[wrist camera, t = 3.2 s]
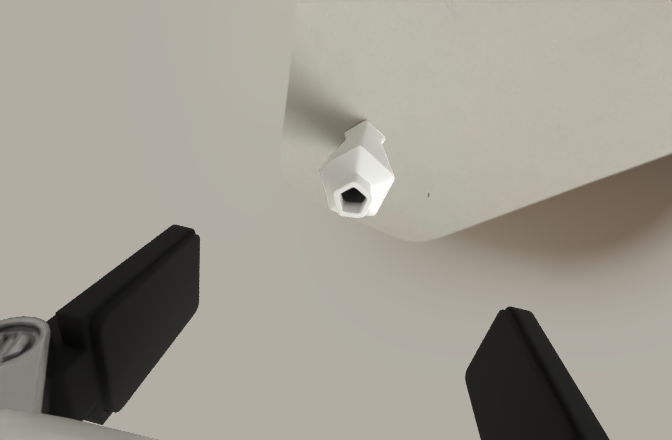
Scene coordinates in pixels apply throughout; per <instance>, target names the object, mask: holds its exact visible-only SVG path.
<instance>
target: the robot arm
mask: <svg viewBox="0 0 672 440" xmlns="http://www.w3.org/2000/svg"><path fill="white" fill-rule="evenodd" d="M199 260H200V237H199V235H196V234H195V231H194V229H191V228H187V227H183V226H179V225H172V226H171V227H169V228H168V229H167V230H165V231H164V232H163V233H161V234H160V235H159V236H157V237H156V238H155V239H153V240H152V241H151V242H149V243H148V244H147V245H145V246H144V247H143V248H141V249H140V250H139V251H137V252H136V253H135V254H133V255H132V256H131V257H129V258H128V259H127V260H125V261H124V262H123V263H121V264H120V265H119V266H117V267H116V268H115V269H113V270H112V271H111V272H109V273H108V274H107V275H105V276H104V277H103V278H101V279H100V280H99V281H97V282H96V283H95V284H93V285H92V286H91V287H89V288H88V289H87V290H85V291H84V292H83V293H81V294H80V295H79V296H77V297H76V298H75V299H73V300H72V301H71V302H69V303H68V304H67V305H65V306H64V307H63V308H61V309H60V310H58V311H57V312H56V315H55V316H53V317H52V318H51V319H50V320H48V321H47V322H45V321H44V320H42V319H39V318H36V317H25V316H23V317H14V318H8V319H4V320H0V440H156V439H153V438H149V437H145V436H141V435H137V434H133V433H129V432H124V431H120V430H116V429H112V428H108V427H103V426H99V425H95V424H91V423H87V422H82V421H83V420H86V421H90V422H94V423H97V424H101V425H103V424H104V422H105V421H106V420H107V419H108V417H109V416H110V415H111V414H112V412H119V411H120V410H121V409H122V408H123V407H124V405H125V404H126V403H127V402H128V400H129V399H130V398H131V396H132V395H133V394H134V392H135V391H136V390H137V388H138V387H139V386H140V384H141V383H142V382H143V381H144V379H145V378H146V377H147V375H148V374H149V373H150V371H151V370H152V369H153V368H154V366H155V365H156V364H157V362H158V361H159V360H160V358H161V357H162V356H163V354H164V353H165V352H166V351H167V349H168V348H169V347H170V345H171V344H172V343H173V341H174V340H175V339H176V337H177V336H178V334H180V332H181V331H182V330H183V328H184V327H185V325H186V324H187V323H188V322H189V320H190V319H191V318H192V316H193V315H194V314H195V312H196V310H197V308H198V305H199V263H200V261H199ZM465 380H466V385H467V389H468V392H469V396H470V400H471V404H472V408H473V412H474V415H475V419H476V423H477V427H478V431H479V434H480V438H481V440H609V438H608V436H607V435H606V433H605V431H604V430H603V428H602V427H601V425H600V423H599V422H598V420H597V418H596V417H595V415H594V413H593V412H592V410H591V409H590V407H589V405H588V404H587V402H586V400H585V399H584V397H583V395H582V394H581V392H580V390H579V389H578V387H577V386H576V384H575V382H574V381H573V379H572V377H571V376H570V374H569V373H568V371H567V369H566V368H565V366H564V364H563V363H562V361H561V359H560V358H559V356H558V354H557V353H556V351H555V349H554V348H553V346H552V344H551V343H550V342H549V340H548V338H547V336H546V335H545V333H544V331H543V330H542V328H541V326H540V325H539V323H538V322H537V320H536V318H535V317H534V315H533V314H532V313H531V312H530V311H527V310H523V309H519V308H514V307H507V308H506V309H505V310H500V311H499V313H498V314H497V316H496V318H495V320H494V321H493V323H492V325H491V327H490V329H489V330H488V332H487V334H486V336H485V338H484V340H483V341H482V343H481V345H480V347H479V349H478V350H477V352H476V354H475V356H474V358H473V359H472V361H471V363H470V365H469V366H468V368H467V371H466V376H465Z"/></svg>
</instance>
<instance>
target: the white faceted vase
mask: <svg viewBox="0 0 672 440" xmlns="http://www.w3.org/2000/svg"><path fill="white" fill-rule="evenodd" d="M344 136H345V141H344V142H343V143H342V144H341V145H340V146H339V147H338V149H337V150H336V151H335V152H334V153H333V154H332V155H331V156H330V158H329V159H328V160H327V161H326V162H325V163H324V164H323V166H322V167H321V168H320V174H321V178H322V182H323V186H324V190H325V193H326V197H327V201H328V205H329V208H330V210H332V211H336V212H338V214H339V215H341V216H346V217H354V218H362V217H364V216H365V215H368V216H374V215H375V214H376V213H377V211H378V209H379V207H380V206H381V204H382V202H383V200H384V198H385V196H386V194H387V193H388V191H389V189H390V187H391V185H392V183H393V181H394V179H395V178H394V174H393V172H392V169H391V167H390V164H389V161H388V159H387V156H386V154H385V151H384V148H383V146H382V144H383V142H384V140H385V136H384V135H383V134H382V133H381V132H380V131H379V130H378V129H377V128H375V127H374V126H373V125H372V124H371V123H370V122H369V121H368V120H365V121H363V122H361V123H360V124H358V125H356V126H354V127H353V128H351V129H349V130H348V131H346V132H345V134H344Z"/></svg>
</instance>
